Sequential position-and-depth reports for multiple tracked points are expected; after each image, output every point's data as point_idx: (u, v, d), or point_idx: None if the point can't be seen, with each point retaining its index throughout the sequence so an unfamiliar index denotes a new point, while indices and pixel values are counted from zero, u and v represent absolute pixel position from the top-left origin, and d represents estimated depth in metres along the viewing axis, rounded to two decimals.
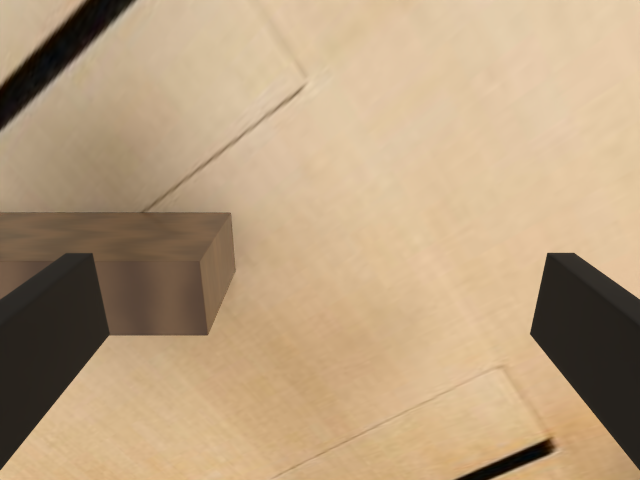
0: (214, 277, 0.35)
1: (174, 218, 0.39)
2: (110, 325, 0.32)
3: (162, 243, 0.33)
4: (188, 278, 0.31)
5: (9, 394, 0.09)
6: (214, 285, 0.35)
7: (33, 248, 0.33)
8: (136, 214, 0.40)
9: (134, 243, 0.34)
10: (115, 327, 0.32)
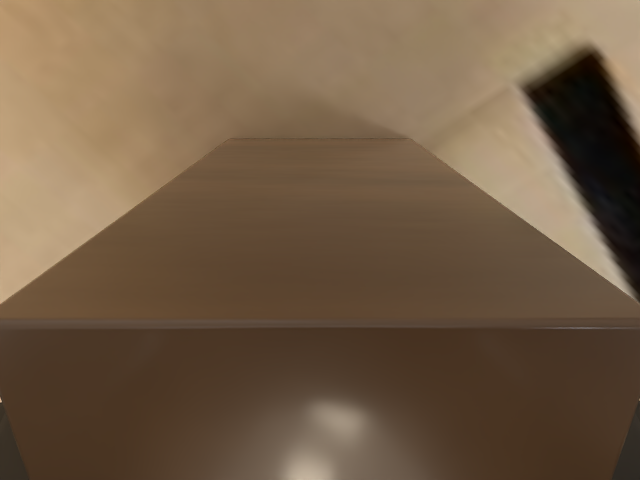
0: None
1: None
2: None
3: None
4: None
5: None
6: None
7: None
8: None
9: None
10: None
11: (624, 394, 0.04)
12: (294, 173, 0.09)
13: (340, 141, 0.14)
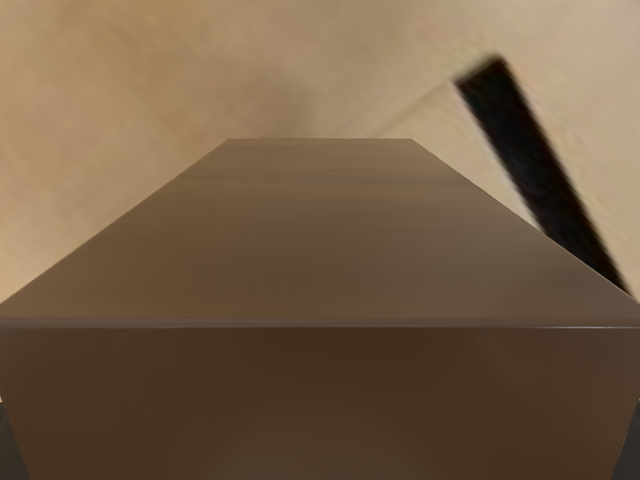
0: None
1: None
2: None
3: None
4: None
5: None
6: None
7: None
8: None
9: None
10: None
11: (624, 394, 0.04)
12: (294, 173, 0.09)
13: (340, 141, 0.14)
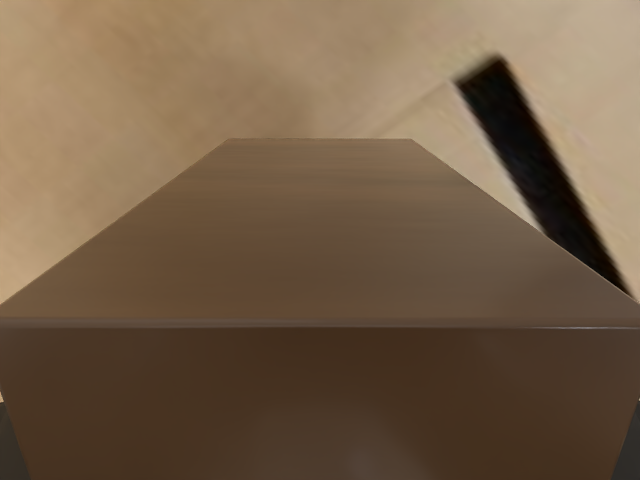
0: None
1: None
2: None
3: None
4: None
5: None
6: None
7: None
8: None
9: None
10: None
11: (624, 393, 0.04)
12: (294, 173, 0.09)
13: (340, 141, 0.14)
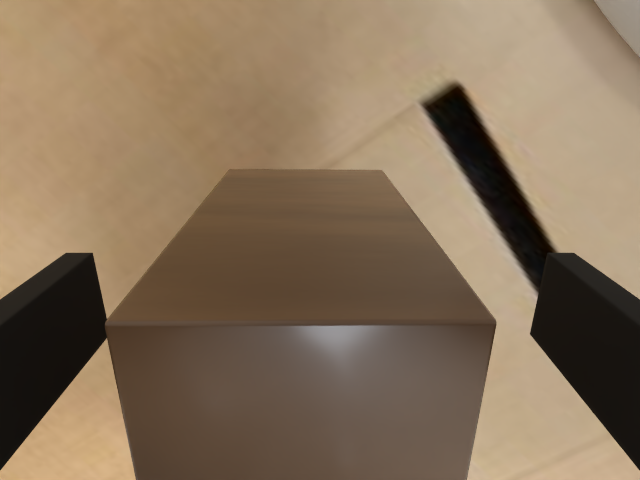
0: None
1: None
2: None
3: None
4: None
5: (10, 394, 0.09)
6: None
7: None
8: None
9: None
10: None
11: (478, 363, 0.07)
12: (285, 208, 0.12)
13: (322, 172, 0.17)
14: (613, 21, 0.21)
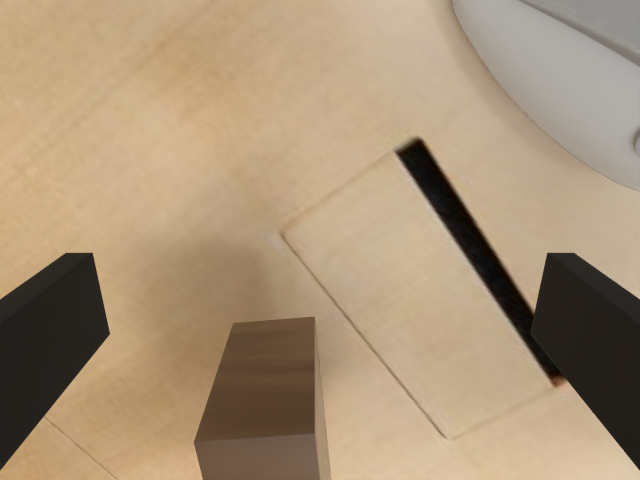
0: None
1: None
2: None
3: None
4: None
5: (10, 393, 0.09)
6: None
7: None
8: None
9: None
10: None
11: (312, 445, 0.22)
12: (257, 364, 0.27)
13: (281, 323, 0.32)
14: (515, 103, 0.33)
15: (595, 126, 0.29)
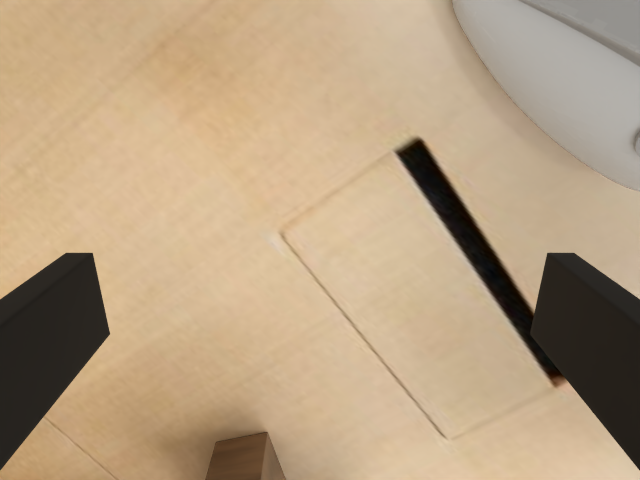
0: None
1: None
2: None
3: None
4: None
5: (10, 393, 0.09)
6: None
7: None
8: None
9: None
10: None
11: None
12: (227, 479, 0.44)
13: (246, 440, 0.48)
14: (515, 103, 0.33)
15: (595, 126, 0.29)
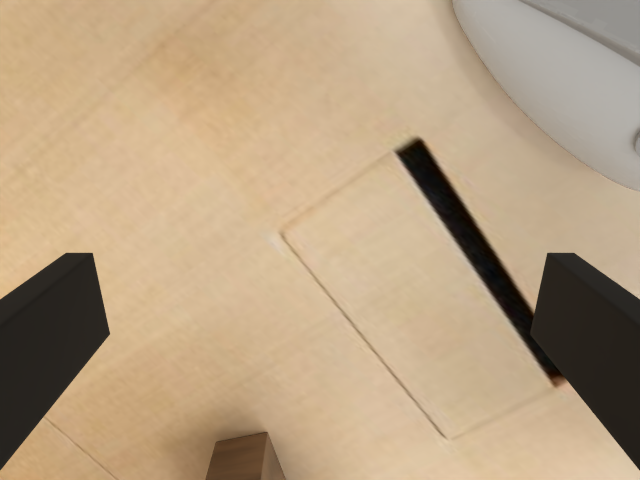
0: None
1: None
2: None
3: None
4: None
5: (10, 393, 0.09)
6: None
7: None
8: None
9: None
10: None
11: None
12: (227, 479, 0.44)
13: (246, 440, 0.48)
14: (515, 103, 0.33)
15: (595, 126, 0.29)
